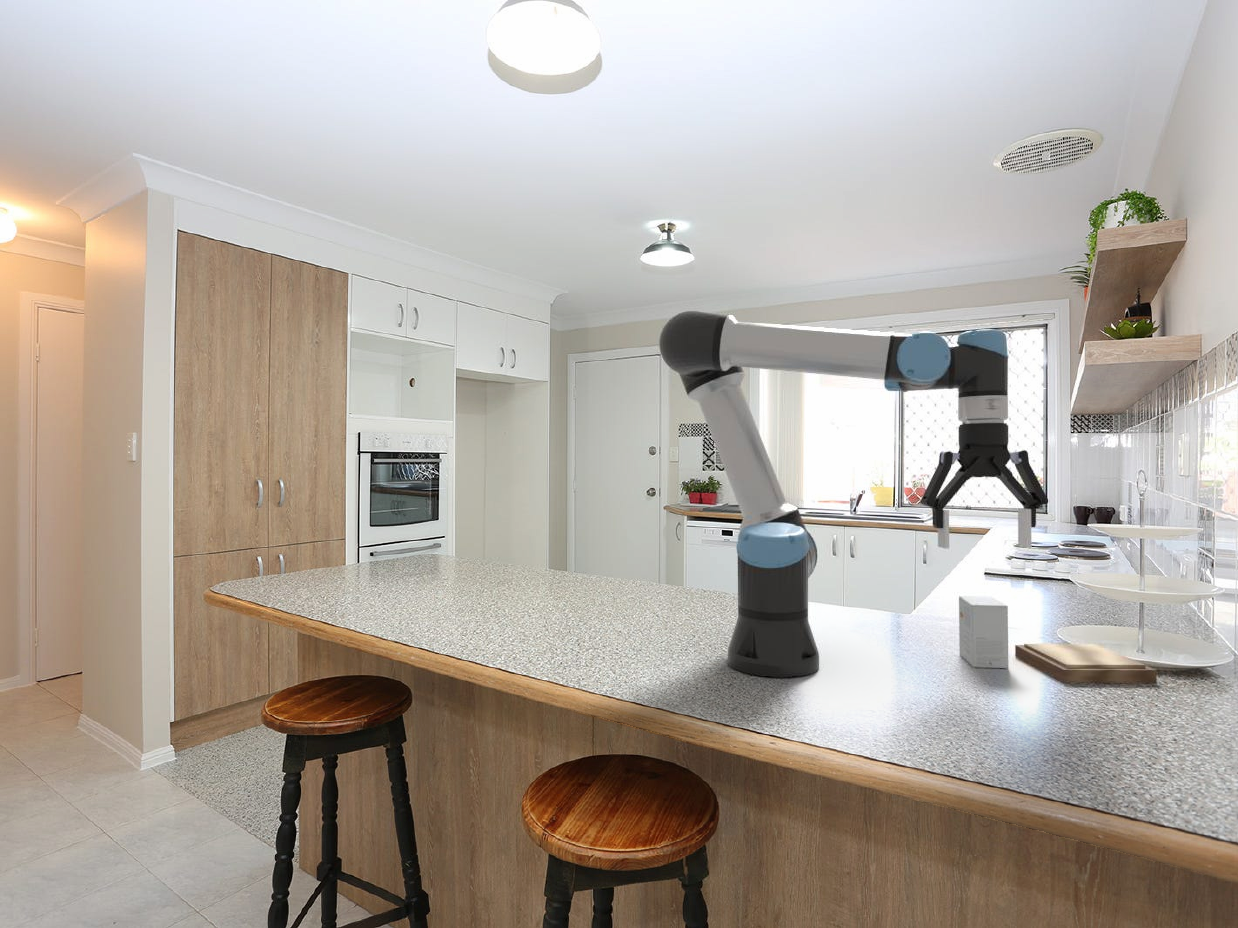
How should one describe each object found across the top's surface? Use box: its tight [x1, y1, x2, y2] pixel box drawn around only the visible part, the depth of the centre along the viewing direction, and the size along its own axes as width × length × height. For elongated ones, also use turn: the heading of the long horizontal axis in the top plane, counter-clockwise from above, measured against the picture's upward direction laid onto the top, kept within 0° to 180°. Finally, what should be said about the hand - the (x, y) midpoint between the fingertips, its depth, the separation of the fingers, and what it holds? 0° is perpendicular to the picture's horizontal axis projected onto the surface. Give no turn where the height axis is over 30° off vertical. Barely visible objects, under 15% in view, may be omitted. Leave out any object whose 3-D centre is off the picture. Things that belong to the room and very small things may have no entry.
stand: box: [1014, 643, 1158, 684], centre depth 114 cm, size 14×14×2 cm
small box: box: [958, 595, 1009, 669], centre depth 119 cm, size 8×6×10 cm
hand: (984, 547), depth 118 cm, fingers open, 13 cm apart
